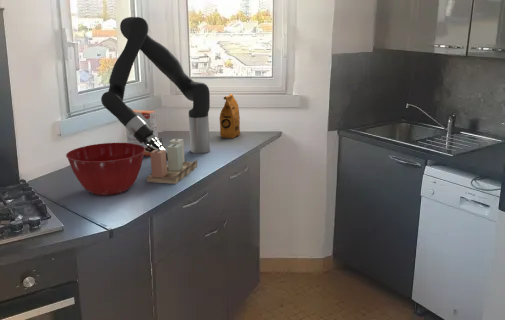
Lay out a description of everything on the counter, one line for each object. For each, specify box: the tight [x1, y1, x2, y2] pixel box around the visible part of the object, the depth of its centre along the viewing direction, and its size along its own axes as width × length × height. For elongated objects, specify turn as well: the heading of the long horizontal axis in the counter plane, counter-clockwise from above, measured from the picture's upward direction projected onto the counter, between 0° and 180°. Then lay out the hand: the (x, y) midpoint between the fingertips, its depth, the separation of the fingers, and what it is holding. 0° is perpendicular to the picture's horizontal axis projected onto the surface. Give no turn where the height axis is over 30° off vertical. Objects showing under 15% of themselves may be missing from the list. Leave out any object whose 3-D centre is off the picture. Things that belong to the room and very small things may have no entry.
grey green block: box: [166, 144, 183, 171], centre depth 211 cm, size 4×4×10 cm
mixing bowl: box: [65, 142, 145, 196], centre depth 194 cm, size 28×28×15 cm
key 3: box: [149, 149, 168, 177], centre depth 203 cm, size 4×4×10 cm
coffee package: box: [219, 93, 241, 139], centre depth 274 cm, size 10×12×22 cm
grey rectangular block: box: [168, 138, 186, 162], centre depth 220 cm, size 4×4×10 cm
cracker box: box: [125, 109, 159, 157], centre depth 242 cm, size 14×6×21 cm, turn 68°
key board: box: [146, 159, 198, 185], centre depth 213 cm, size 23×12×3 cm, turn 165°
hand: (168, 159), depth 212 cm, fingers closed
